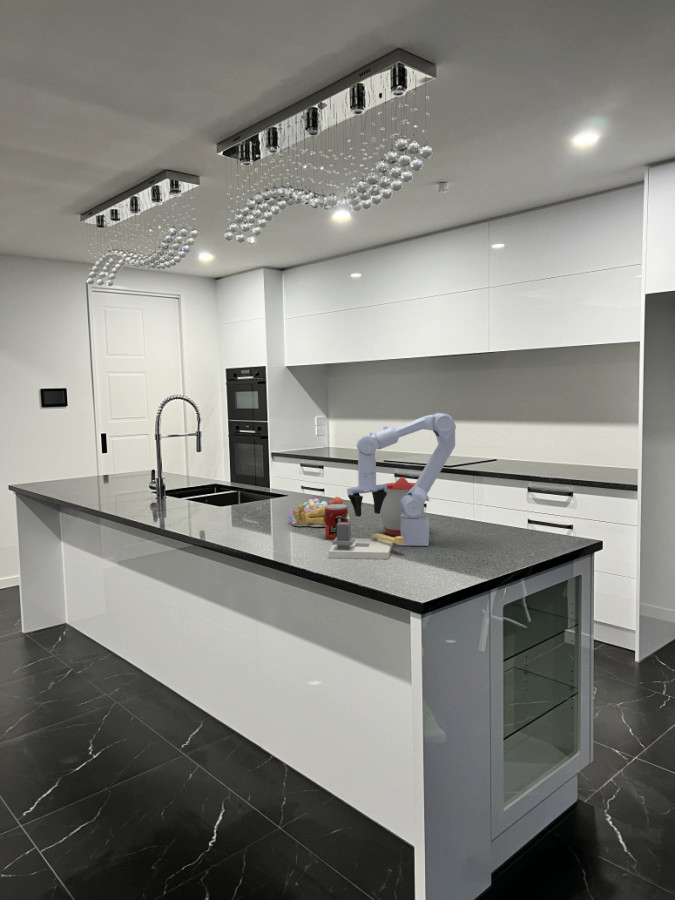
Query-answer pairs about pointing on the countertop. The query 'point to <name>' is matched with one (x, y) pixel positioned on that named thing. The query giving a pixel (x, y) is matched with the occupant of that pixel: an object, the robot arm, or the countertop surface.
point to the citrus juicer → (395, 505)
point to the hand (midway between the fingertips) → (367, 514)
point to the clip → (387, 538)
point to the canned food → (334, 519)
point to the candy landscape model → (312, 513)
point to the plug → (343, 536)
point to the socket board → (364, 550)
